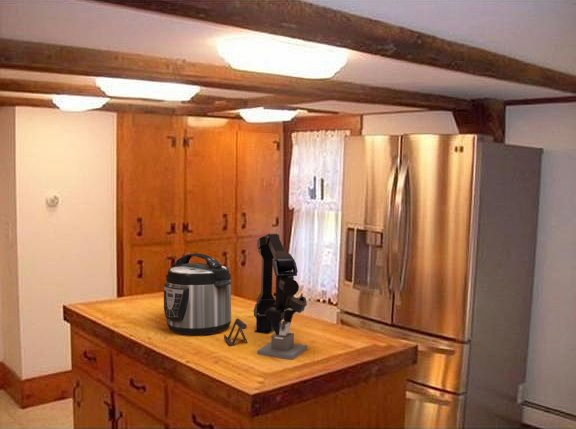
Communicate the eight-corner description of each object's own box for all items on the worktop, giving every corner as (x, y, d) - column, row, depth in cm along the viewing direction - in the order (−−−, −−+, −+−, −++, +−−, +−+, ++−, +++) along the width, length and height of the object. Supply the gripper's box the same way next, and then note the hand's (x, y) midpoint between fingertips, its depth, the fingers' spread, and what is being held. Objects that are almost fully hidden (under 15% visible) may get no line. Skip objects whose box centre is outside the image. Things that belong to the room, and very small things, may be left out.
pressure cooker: (160, 321, 258) (160, 249, 255) (223, 317, 266) (224, 248, 264) (167, 340, 229) (167, 260, 227) (237, 335, 238) (238, 258, 235)
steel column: (275, 348, 216) (275, 323, 216) (279, 345, 220) (280, 320, 219) (285, 349, 215) (285, 324, 214) (289, 346, 218) (290, 321, 218)
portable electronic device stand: (223, 340, 231) (223, 319, 231) (242, 338, 234) (243, 317, 233) (229, 346, 223) (229, 324, 222) (249, 344, 226) (249, 323, 225)
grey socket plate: (257, 354, 214) (257, 336, 213) (273, 344, 227) (273, 327, 226) (292, 359, 208) (292, 341, 208) (306, 349, 221) (307, 332, 221)
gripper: (293, 297, 204) (292, 341, 205) (313, 287, 221) (312, 328, 222) (264, 293, 208) (264, 337, 210) (285, 284, 225) (285, 324, 227)
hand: (282, 331), depth 217 cm, fingers open, 9 cm apart
